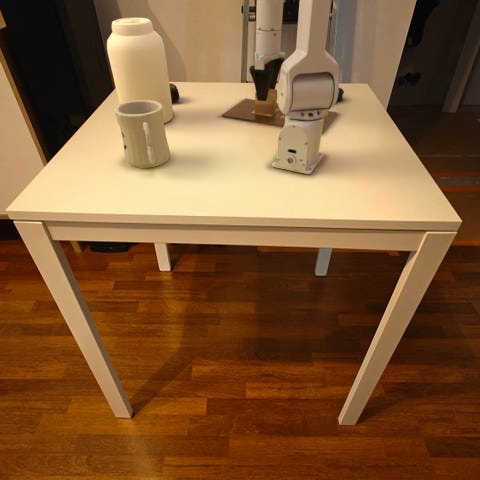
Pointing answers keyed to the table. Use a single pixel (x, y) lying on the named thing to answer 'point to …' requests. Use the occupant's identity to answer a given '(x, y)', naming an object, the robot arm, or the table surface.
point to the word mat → (265, 115)
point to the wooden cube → (267, 103)
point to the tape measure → (174, 92)
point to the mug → (143, 133)
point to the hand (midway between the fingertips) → (266, 95)
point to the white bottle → (139, 63)
